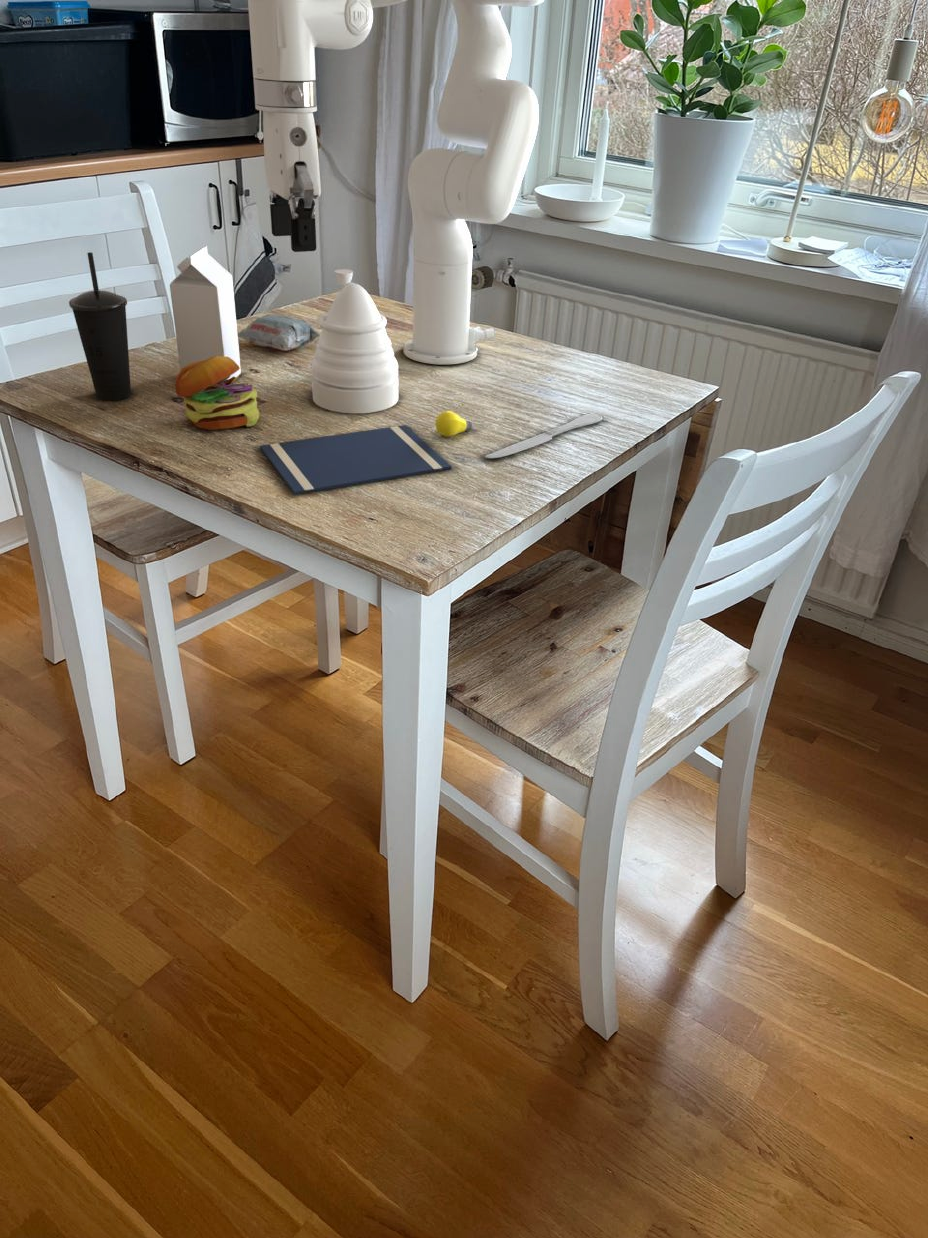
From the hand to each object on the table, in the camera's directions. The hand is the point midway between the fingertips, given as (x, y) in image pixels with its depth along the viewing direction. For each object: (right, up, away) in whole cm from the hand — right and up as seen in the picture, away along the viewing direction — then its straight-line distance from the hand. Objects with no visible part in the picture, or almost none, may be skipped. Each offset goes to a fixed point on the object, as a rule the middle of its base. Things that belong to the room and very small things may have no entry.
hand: (293, 242), depth 125 cm
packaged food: (-9, -4, +35) cm, 37 cm away
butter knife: (+34, -25, +6) cm, 43 cm away
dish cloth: (+8, -29, -2) cm, 30 cm away
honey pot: (+6, -17, +17) cm, 25 cm away
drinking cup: (-29, -17, +14) cm, 36 cm away
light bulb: (+21, -24, +6) cm, 33 cm away
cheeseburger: (-12, -22, +7) cm, 26 cm away
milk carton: (-16, -13, +21) cm, 30 cm away
